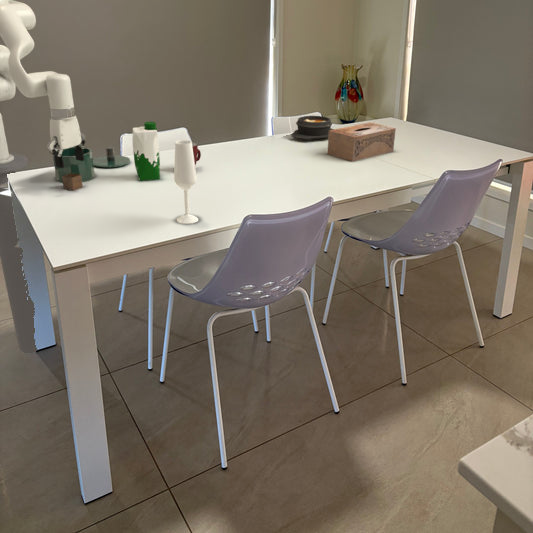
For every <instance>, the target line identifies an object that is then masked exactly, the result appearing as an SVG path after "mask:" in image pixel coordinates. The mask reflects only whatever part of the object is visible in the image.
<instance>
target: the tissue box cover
mask: <svg viewBox="0 0 533 533" xmlns="http://www.w3.org/2000/svg"><path fill="white" fill-rule="evenodd" d="M333 129H334V130H329V136H328V137H327V155H329V156H333V157H336V158H339V159H343V160H346V161H350V162H356V161H357V162H358V161H360V160H361V161H362V160H365V159H368V158H372V157H376V156H377V157H378V156H381V155H384V154H388V153H393V152H394V148H395V138H396V127H391V126H387V125H384V124H379V123H374V122H369V121H368V122H364V123H360V124H354V125H350V126H344V127H339V128H333Z"/></svg>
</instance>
